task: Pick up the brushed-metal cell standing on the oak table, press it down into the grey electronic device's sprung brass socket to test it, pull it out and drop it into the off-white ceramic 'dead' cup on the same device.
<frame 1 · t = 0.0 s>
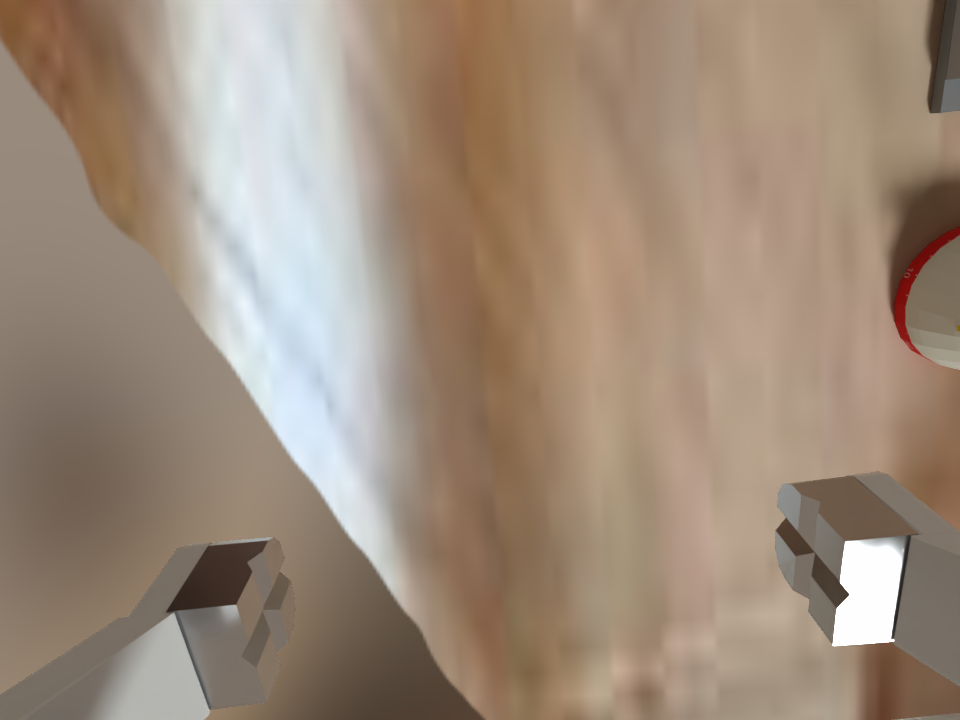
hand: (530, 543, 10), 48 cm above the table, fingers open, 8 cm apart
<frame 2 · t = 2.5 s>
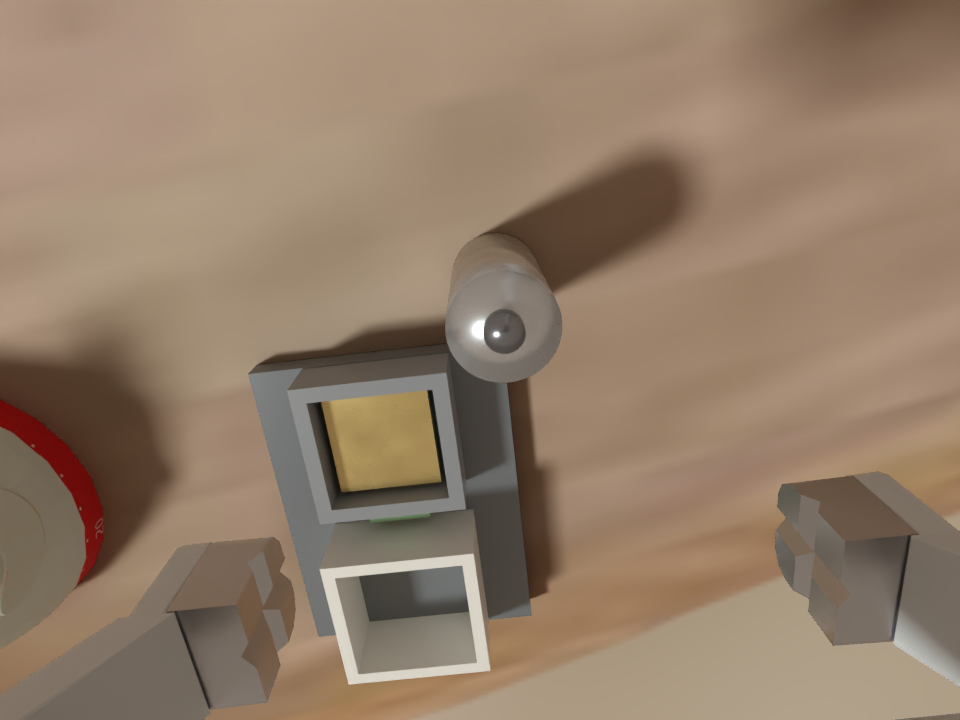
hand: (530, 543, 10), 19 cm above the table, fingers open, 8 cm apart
cell: (495, 276, 28), on the table
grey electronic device: (404, 492, 32), on the table
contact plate: (383, 439, 28), point 2 cm above the table, slide at 0.0 cm
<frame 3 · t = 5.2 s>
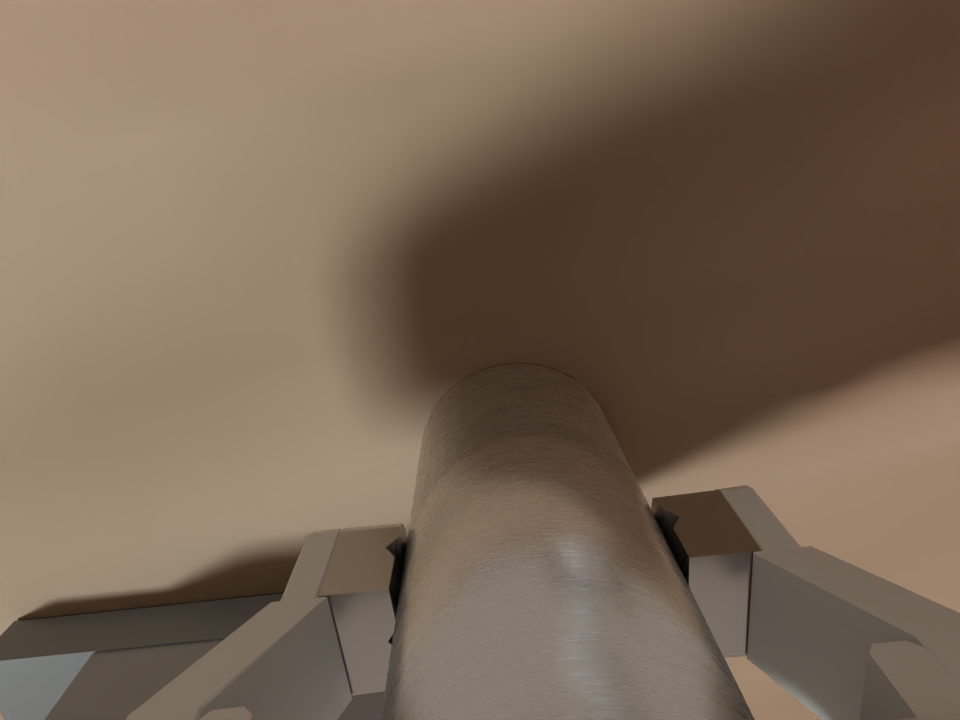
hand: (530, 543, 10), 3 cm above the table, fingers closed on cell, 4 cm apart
cell: (516, 451, 13), on the table, touching gripper
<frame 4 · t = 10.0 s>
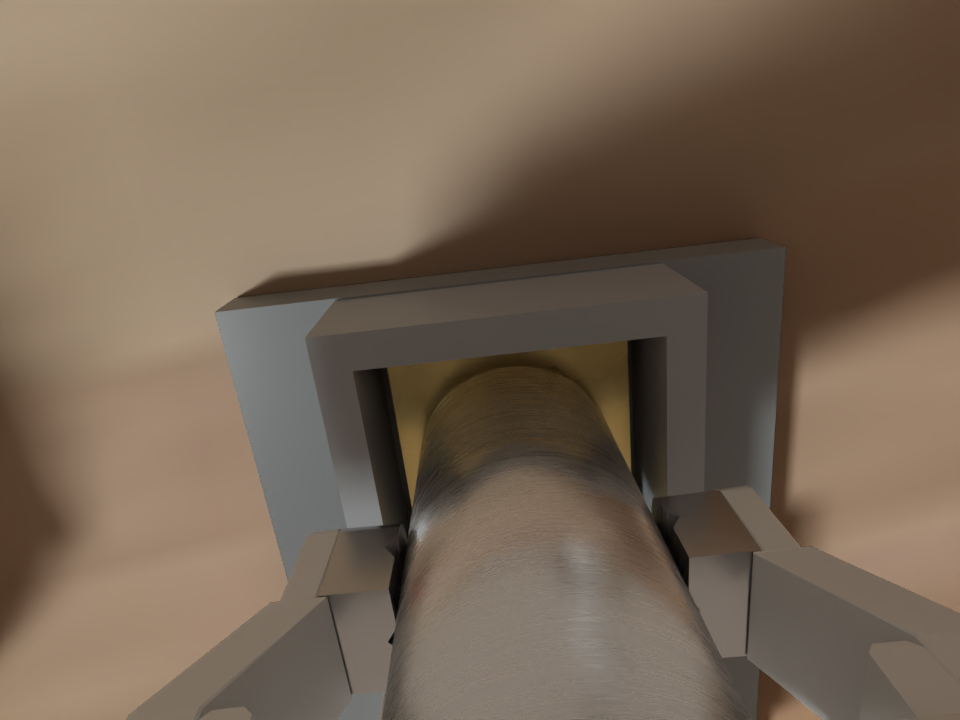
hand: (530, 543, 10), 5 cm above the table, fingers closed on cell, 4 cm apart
cell: (516, 454, 13), point 2 cm above the table, touching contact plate, gripper
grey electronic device: (525, 556, 17), on the table
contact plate: (515, 446, 13), point 2 cm above the table, slide at -0.5 cm, touching cell
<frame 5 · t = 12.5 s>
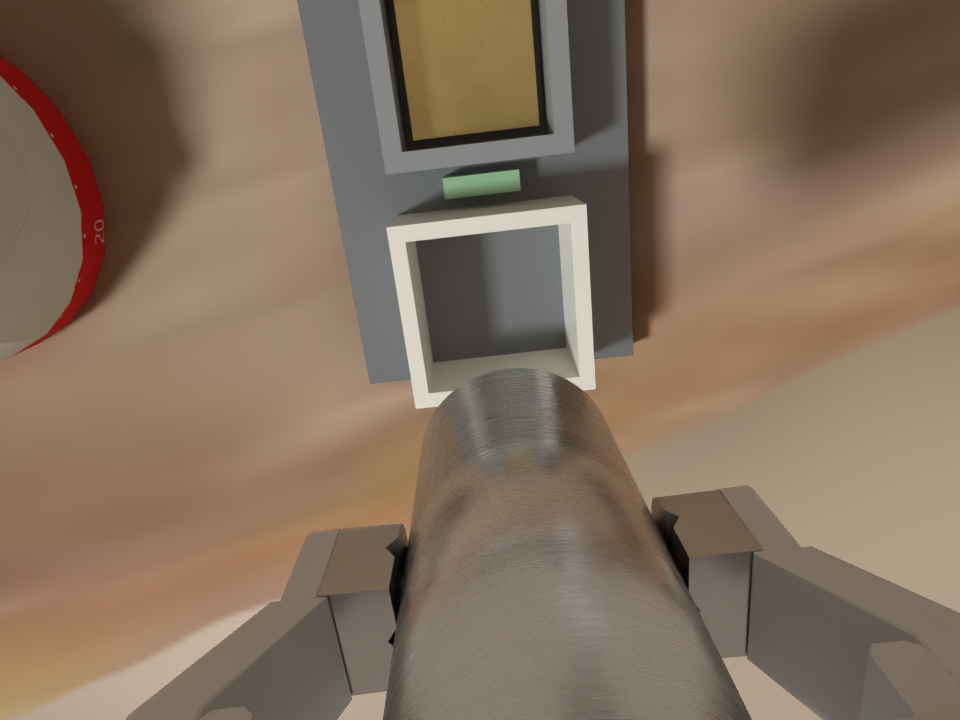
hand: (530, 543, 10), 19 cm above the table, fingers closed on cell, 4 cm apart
cell: (516, 456, 13), point 16 cm above the table, touching gripper
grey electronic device: (481, 185, 26), on the table
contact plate: (468, 64, 22), point 2 cm above the table, slide at -0.5 cm
when the fingers open (6 cm above the table, at t = 15.0 s): cell drops 2 cm, resting on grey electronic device.
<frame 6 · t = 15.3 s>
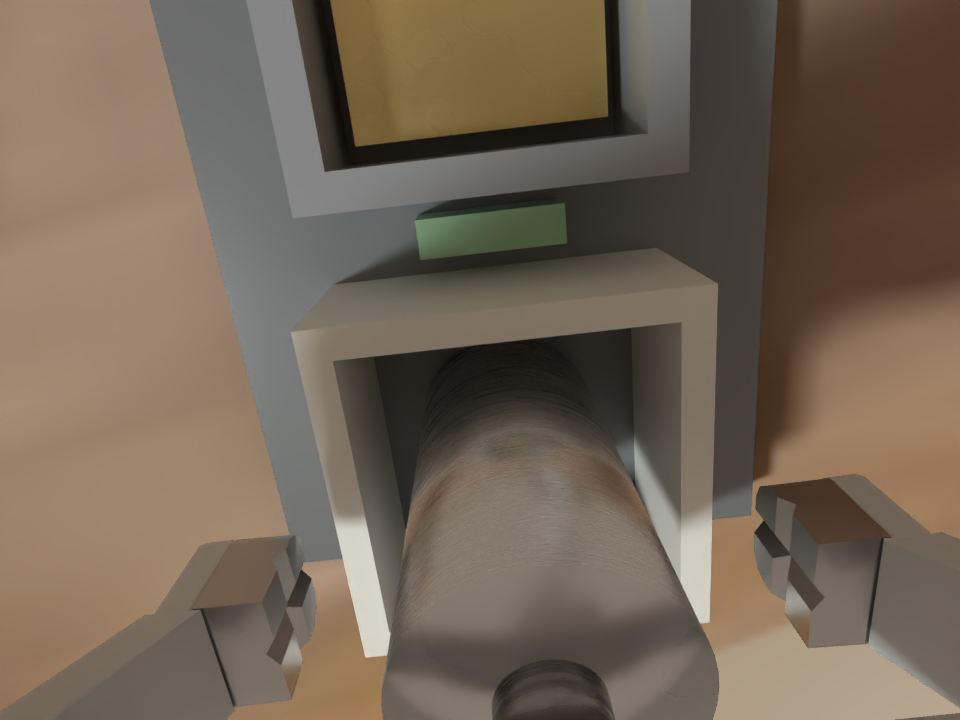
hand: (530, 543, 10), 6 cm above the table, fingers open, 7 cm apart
cell: (507, 414, 15), point 1 cm above the table, touching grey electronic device
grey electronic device: (488, 226, 14), on the table
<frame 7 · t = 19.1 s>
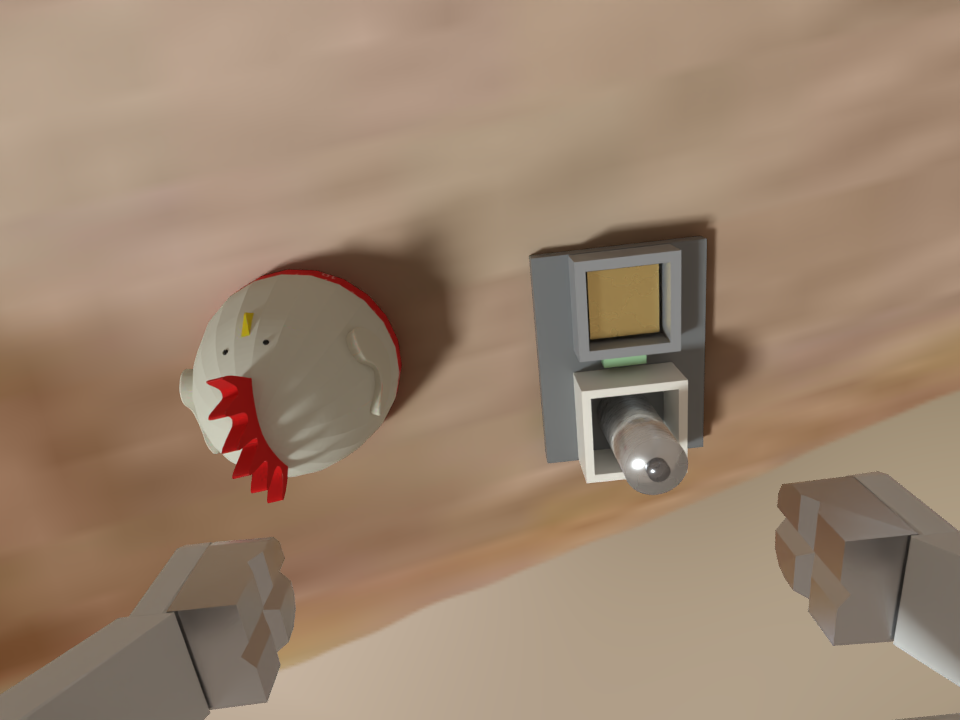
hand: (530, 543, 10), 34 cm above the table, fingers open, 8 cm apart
cell: (623, 412, 45), point 1 cm above the table, touching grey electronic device
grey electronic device: (618, 352, 45), on the table
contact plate: (622, 301, 42), point 2 cm above the table, slide at -0.5 cm
kitchen timer: (308, 360, 45), on the table
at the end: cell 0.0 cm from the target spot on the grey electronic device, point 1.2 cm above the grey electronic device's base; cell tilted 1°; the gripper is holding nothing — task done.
